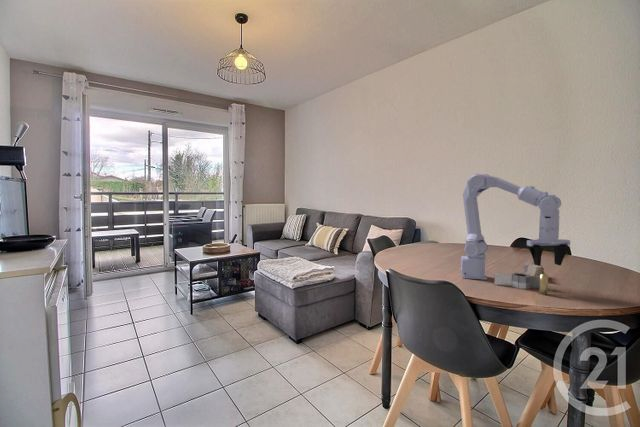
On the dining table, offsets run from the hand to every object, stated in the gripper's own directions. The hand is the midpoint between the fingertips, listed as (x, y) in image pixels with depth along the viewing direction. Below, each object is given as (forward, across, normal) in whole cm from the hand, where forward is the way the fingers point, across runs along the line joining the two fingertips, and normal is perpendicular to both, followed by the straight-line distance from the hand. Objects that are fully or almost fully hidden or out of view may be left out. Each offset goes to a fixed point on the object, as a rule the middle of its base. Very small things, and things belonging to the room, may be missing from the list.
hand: (547, 264), depth 111 cm
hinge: (+10, -6, +5) cm, 13 cm away
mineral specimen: (+10, +7, +17) cm, 21 cm away
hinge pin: (+10, -4, -4) cm, 11 cm away
